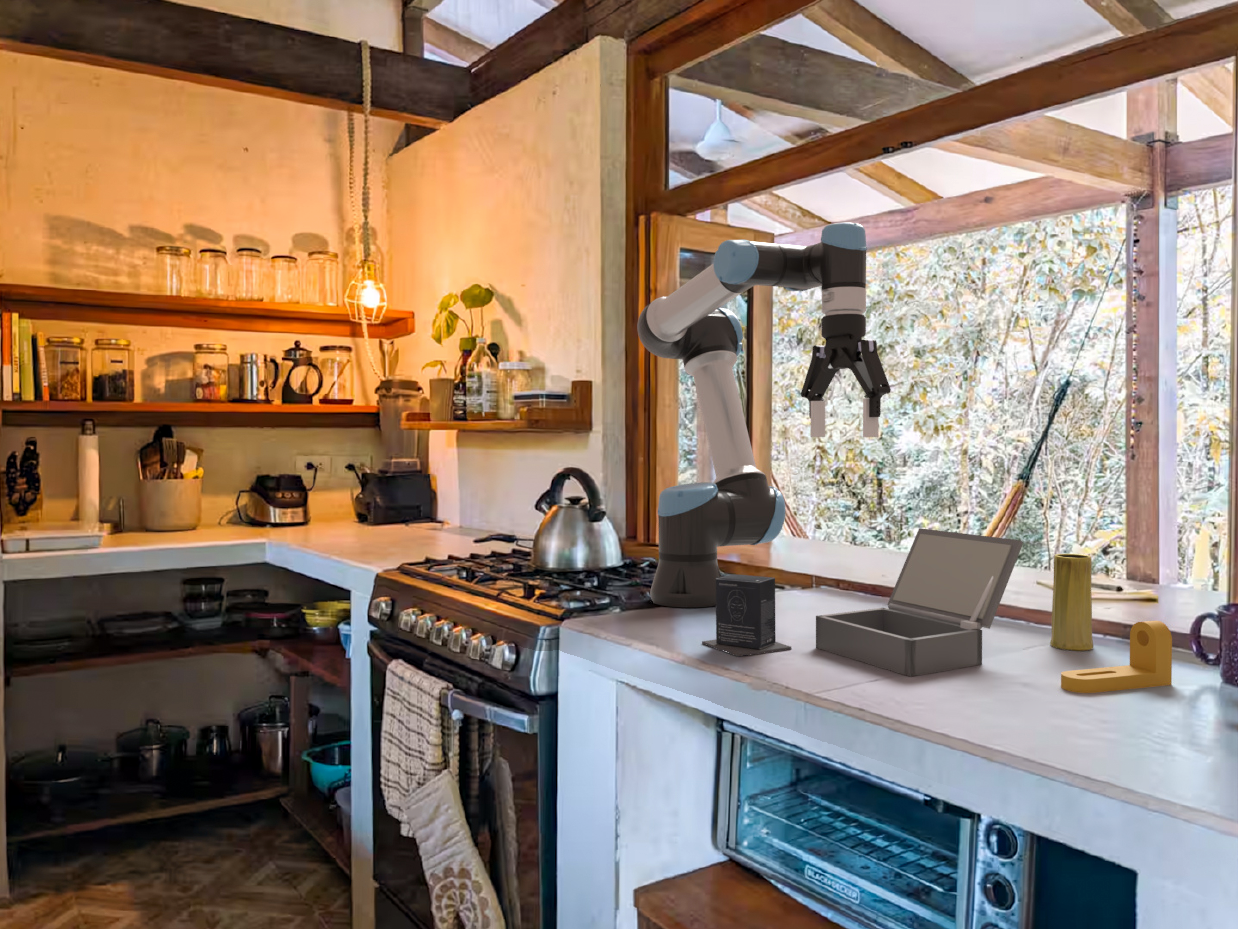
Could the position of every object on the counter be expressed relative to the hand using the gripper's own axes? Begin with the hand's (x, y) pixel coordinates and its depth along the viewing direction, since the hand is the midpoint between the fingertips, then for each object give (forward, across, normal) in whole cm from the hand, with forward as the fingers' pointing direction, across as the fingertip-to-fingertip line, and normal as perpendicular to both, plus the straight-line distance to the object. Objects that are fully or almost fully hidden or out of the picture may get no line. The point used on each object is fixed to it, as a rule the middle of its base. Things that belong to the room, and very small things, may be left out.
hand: (843, 437), depth 165 cm
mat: (+33, +6, -25) cm, 42 cm away
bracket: (+33, +48, +4) cm, 59 cm away
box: (+32, +6, -25) cm, 41 cm away
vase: (+33, +31, +19) cm, 49 cm away
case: (+33, +22, -5) cm, 40 cm away
